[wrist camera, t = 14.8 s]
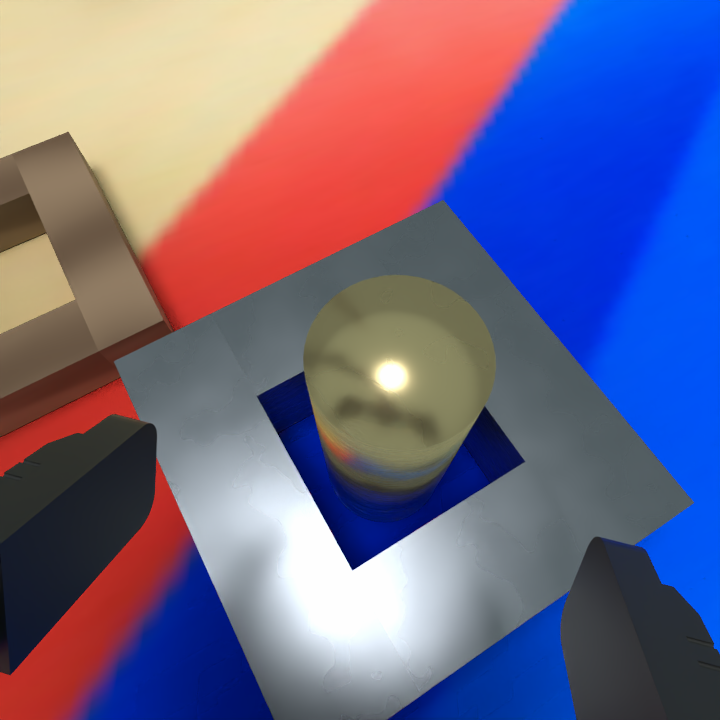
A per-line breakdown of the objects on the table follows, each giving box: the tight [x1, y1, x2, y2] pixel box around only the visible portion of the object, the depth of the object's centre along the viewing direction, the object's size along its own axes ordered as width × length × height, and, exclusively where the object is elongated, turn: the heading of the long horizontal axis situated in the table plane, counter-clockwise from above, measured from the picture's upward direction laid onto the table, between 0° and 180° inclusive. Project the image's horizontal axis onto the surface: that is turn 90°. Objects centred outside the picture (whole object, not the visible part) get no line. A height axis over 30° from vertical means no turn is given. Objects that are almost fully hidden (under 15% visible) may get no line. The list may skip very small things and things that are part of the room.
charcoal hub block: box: [114, 200, 694, 720], centre depth 21 cm, size 14×14×4 cm
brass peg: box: [303, 275, 496, 522], centre depth 18 cm, size 4×4×10 cm
